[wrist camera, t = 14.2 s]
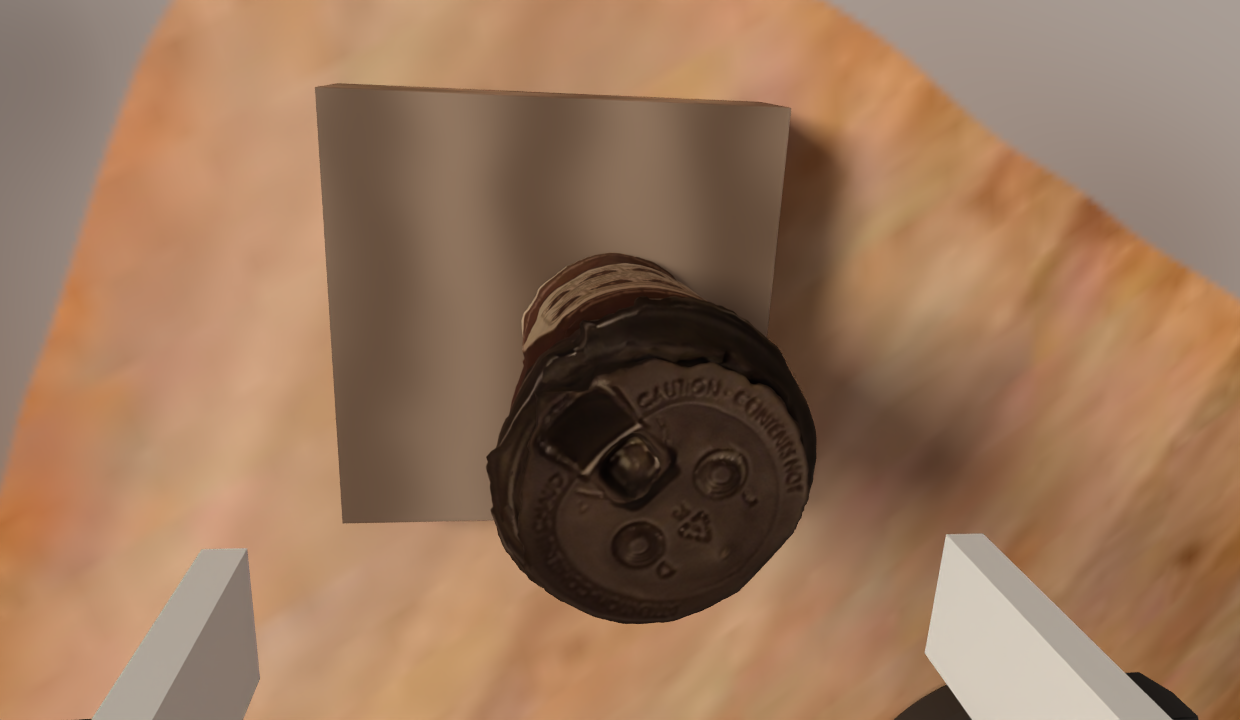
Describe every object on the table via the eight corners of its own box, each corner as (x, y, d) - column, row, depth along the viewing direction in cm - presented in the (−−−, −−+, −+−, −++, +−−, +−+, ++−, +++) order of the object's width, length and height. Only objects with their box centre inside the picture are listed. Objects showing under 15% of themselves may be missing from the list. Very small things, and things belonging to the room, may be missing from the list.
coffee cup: (479, 223, 30) (461, 336, 18) (713, 202, 31) (846, 297, 19) (506, 449, 33) (507, 677, 21) (720, 425, 34) (839, 631, 22)
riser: (760, 102, 34) (791, 107, 30) (724, 471, 39) (747, 515, 36) (337, 83, 32) (315, 87, 28) (359, 476, 37) (342, 523, 34)
